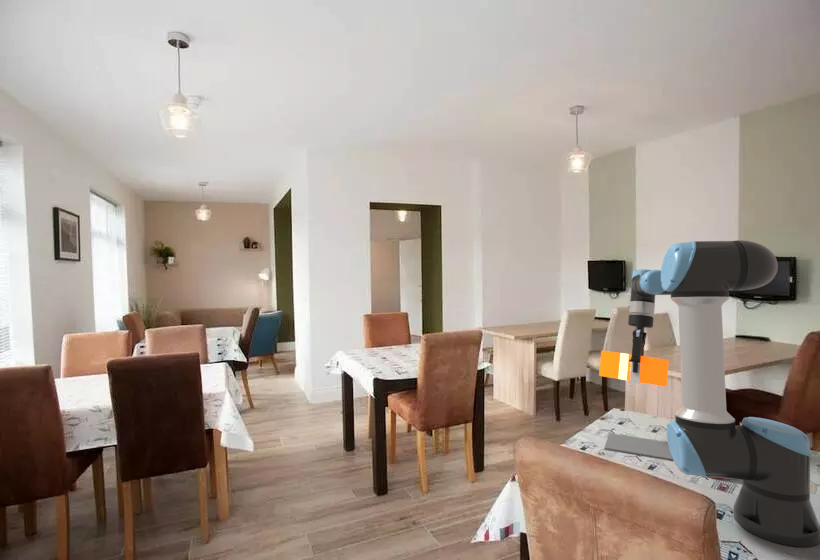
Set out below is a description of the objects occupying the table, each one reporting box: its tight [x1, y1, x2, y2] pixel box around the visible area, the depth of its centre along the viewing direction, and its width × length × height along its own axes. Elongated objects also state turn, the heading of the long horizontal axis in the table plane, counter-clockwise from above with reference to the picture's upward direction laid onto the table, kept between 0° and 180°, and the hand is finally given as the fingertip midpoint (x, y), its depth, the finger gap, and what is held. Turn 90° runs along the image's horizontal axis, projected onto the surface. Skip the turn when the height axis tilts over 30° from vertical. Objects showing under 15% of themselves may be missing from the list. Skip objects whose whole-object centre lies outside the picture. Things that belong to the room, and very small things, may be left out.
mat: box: [604, 433, 674, 462], centre depth 145 cm, size 14×21×1 cm, turn 60°
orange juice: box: [598, 350, 670, 388], centre depth 151 cm, size 8×9×20 cm
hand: (635, 382), depth 150 cm, fingers closed on orange juice, 8 cm apart
